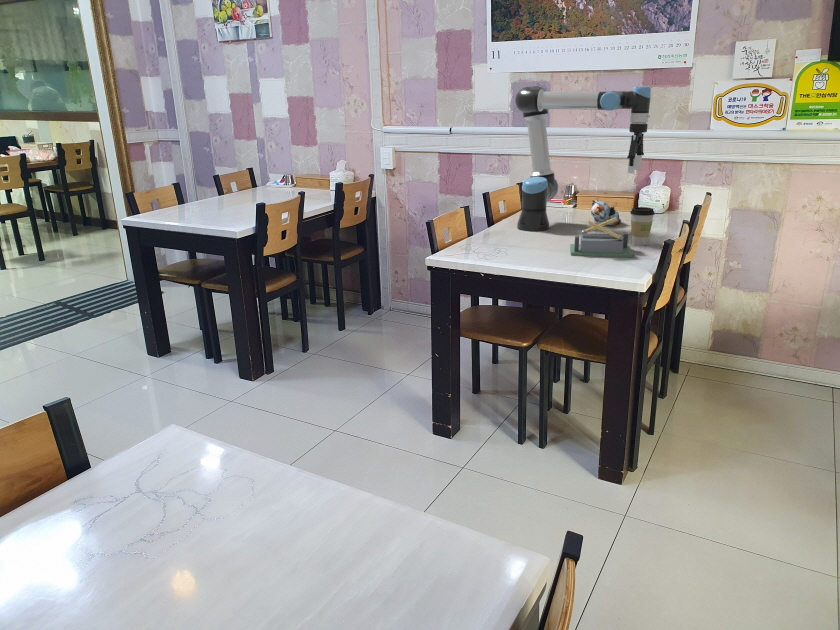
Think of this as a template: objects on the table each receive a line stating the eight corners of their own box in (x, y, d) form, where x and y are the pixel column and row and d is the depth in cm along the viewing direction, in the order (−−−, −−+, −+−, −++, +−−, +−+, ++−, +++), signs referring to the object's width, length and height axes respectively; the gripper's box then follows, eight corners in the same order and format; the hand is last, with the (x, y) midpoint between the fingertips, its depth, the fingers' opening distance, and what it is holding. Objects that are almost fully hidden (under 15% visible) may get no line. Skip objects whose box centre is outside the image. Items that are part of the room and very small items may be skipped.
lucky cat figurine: (624, 226, 313) (616, 202, 306) (599, 235, 317) (591, 212, 309) (616, 212, 326) (609, 188, 318) (593, 221, 329) (585, 198, 321)
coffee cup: (653, 246, 274) (656, 211, 269) (628, 246, 276) (631, 210, 271) (650, 241, 283) (653, 207, 278) (626, 241, 285) (629, 206, 280)
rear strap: (582, 235, 269) (581, 232, 269) (582, 233, 273) (581, 230, 273) (617, 221, 265) (616, 217, 264) (617, 219, 268) (615, 215, 268)
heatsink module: (570, 255, 263) (571, 238, 261) (570, 246, 277) (571, 230, 274) (632, 257, 258) (634, 239, 256) (629, 248, 272) (630, 231, 270)
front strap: (621, 239, 262) (623, 235, 261) (621, 241, 258) (623, 237, 258) (587, 223, 262) (589, 219, 262) (587, 225, 259) (589, 221, 258)
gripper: (641, 124, 278) (636, 175, 286) (653, 121, 299) (648, 168, 306) (623, 124, 282) (619, 174, 289) (636, 121, 302) (631, 168, 310)
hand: (634, 171), depth 298 cm, fingers open, 13 cm apart
